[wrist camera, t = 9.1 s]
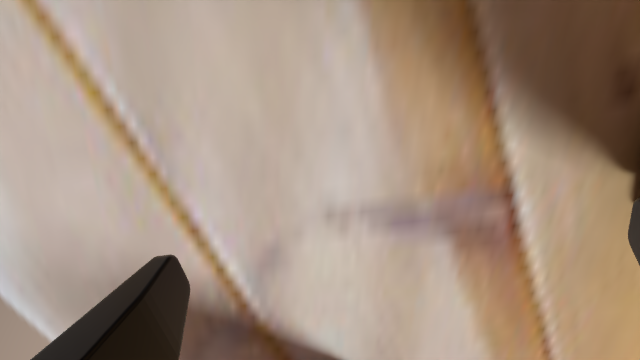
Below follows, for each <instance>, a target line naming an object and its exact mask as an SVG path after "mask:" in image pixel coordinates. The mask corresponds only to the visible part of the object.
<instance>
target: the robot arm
mask: <svg viewBox="0 0 640 360" xmlns="http://www.w3.org/2000/svg"><path fill="white" fill-rule="evenodd" d="M628 239H629V243H630V246H631V248H632V250H633V252H634V255H635V257H636V259H637V261H638V263H639V265H640V198H638V199H636V200H635V202H634V204H633V208H632V213H631V219H630V224H629V230H628ZM189 296H190V284H189V281H188V279H187V277H186V275H185V273H184V271H183V269H182V267H181V265H180V263H179V261H178V259H177V257H175V256H174V255H164V256H157V257H154V258H153V259H152V260H150V261H149V262H148V263H147V264H145V265H144V266H143V267H142V268H141V269H139V270H138V271H137V272H136V273H135V274H133V275H132V276H131V277H130V278H129V279H127V280H126V281H125V282H124V283H123V284H121V285H120V286H119V287H118V288H117V289H115V290H114V291H113V292H112V293H110V294H109V295H108V296H107V297H106V298H104V299H103V300H102V301H101V302H100V303H98V304H97V305H96V306H95V307H94V308H92V309H91V310H90V311H89V312H88V313H86V314H85V315H84V316H83V317H81V318H80V319H79V320H78V321H77V322H75V323H74V324H73V325H72V326H71V327H69V328H68V329H67V330H66V331H65V332H63V333H62V334H61V335H60V336H59V337H57V338H56V339H55V340H54V341H53V342H51V343H50V344H49V345H48V346H46V347H45V348H44V349H43V350H42V351H41V352H39V353H38V354H37V355H36V356H35V357H34V358H32V359H31V360H179V355H180V350H181V344H182V338H183V332H184V326H185V320H186V314H187V308H188V302H189Z"/></svg>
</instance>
